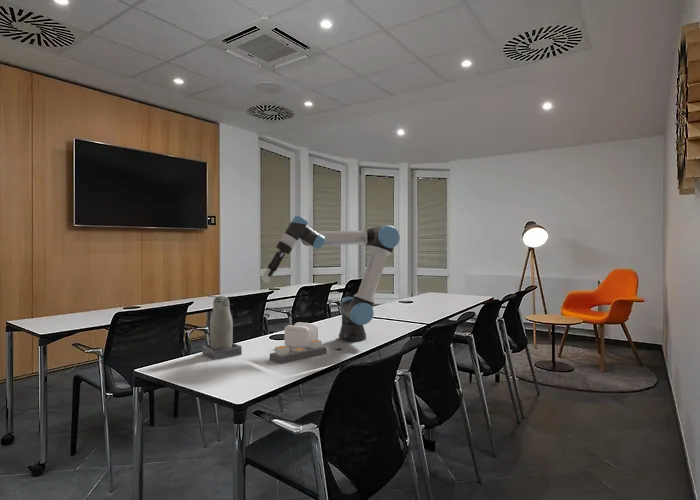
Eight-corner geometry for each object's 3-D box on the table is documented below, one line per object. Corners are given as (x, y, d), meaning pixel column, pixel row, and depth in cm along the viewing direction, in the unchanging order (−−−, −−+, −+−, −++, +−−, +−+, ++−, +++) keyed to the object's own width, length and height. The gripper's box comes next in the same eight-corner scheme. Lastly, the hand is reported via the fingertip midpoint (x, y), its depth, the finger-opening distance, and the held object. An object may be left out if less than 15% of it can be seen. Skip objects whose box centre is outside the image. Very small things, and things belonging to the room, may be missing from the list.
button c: (283, 352, 192) (283, 345, 192) (289, 354, 189) (289, 347, 188) (275, 354, 189) (274, 346, 189) (280, 356, 186) (280, 348, 186)
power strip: (334, 348, 214) (334, 340, 214) (346, 351, 208) (346, 343, 208) (269, 362, 190) (269, 353, 190) (280, 366, 183) (280, 357, 183)
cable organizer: (319, 346, 218) (319, 324, 218) (307, 351, 209) (307, 327, 209) (296, 343, 226) (296, 321, 226) (283, 348, 217) (283, 325, 217)
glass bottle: (206, 356, 201) (205, 297, 201) (218, 351, 211) (217, 294, 211) (225, 357, 199) (225, 297, 199) (236, 352, 209) (235, 295, 209)
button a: (315, 346, 204) (315, 339, 204) (321, 347, 200) (321, 340, 200) (308, 347, 201) (308, 340, 201) (313, 349, 197) (313, 342, 197)
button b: (300, 354, 198) (300, 347, 198) (305, 356, 194) (305, 349, 194) (292, 356, 195) (292, 349, 195) (297, 358, 192) (297, 350, 191)
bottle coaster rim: (228, 349, 215) (228, 341, 214) (241, 354, 204) (241, 346, 204) (202, 354, 206) (202, 346, 206) (214, 359, 195) (214, 351, 195)
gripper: (277, 240, 224) (255, 275, 221) (282, 239, 200) (258, 279, 197) (289, 248, 226) (268, 282, 223) (296, 248, 202) (273, 287, 199)
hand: (263, 281), depth 210 cm, fingers open, 13 cm apart
